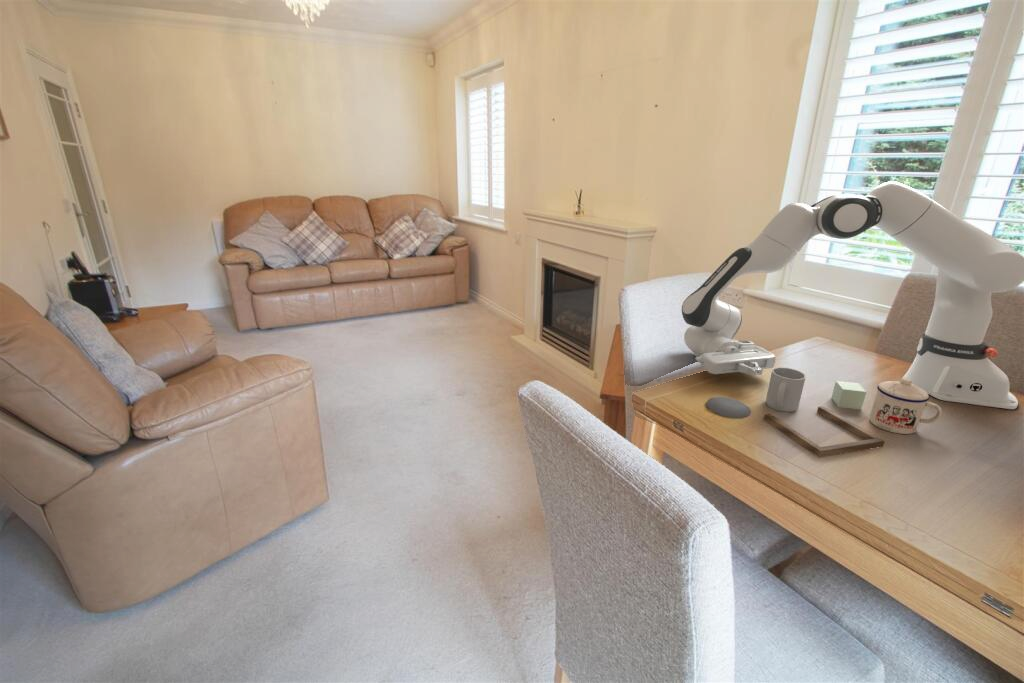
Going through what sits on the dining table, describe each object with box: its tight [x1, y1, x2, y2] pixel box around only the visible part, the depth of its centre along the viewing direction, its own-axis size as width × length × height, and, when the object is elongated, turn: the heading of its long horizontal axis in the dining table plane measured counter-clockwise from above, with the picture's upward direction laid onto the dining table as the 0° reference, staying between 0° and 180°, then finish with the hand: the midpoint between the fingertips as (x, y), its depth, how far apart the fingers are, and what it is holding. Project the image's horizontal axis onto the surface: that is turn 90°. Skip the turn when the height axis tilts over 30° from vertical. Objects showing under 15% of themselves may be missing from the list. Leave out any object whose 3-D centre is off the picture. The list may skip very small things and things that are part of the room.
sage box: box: [830, 380, 867, 410], centre depth 115 cm, size 5×5×5 cm
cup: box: [765, 366, 807, 413], centre depth 113 cm, size 7×10×9 cm
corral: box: [763, 405, 886, 458], centre depth 103 cm, size 16×16×2 cm
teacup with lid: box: [868, 377, 943, 435], centre depth 104 cm, size 12×9×12 cm
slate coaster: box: [706, 396, 751, 419], centre depth 114 cm, size 10×10×1 cm
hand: (757, 372), depth 121 cm, fingers closed
